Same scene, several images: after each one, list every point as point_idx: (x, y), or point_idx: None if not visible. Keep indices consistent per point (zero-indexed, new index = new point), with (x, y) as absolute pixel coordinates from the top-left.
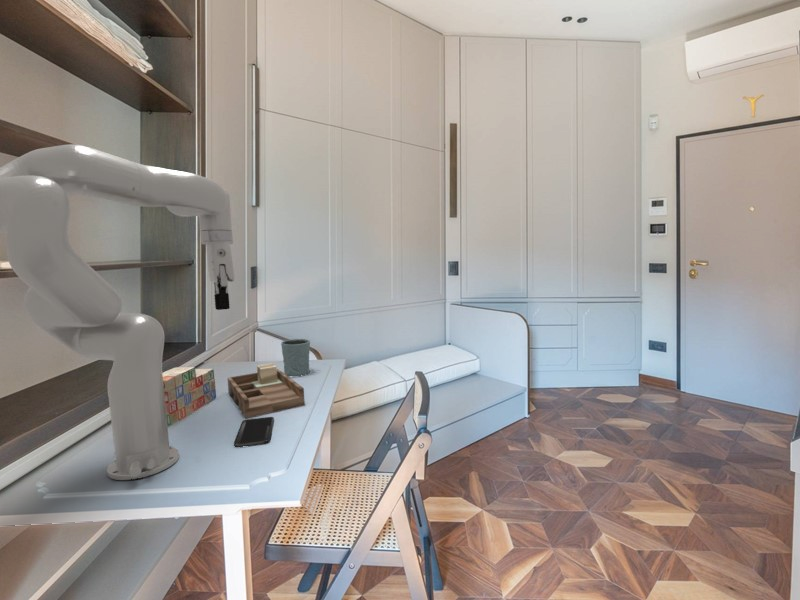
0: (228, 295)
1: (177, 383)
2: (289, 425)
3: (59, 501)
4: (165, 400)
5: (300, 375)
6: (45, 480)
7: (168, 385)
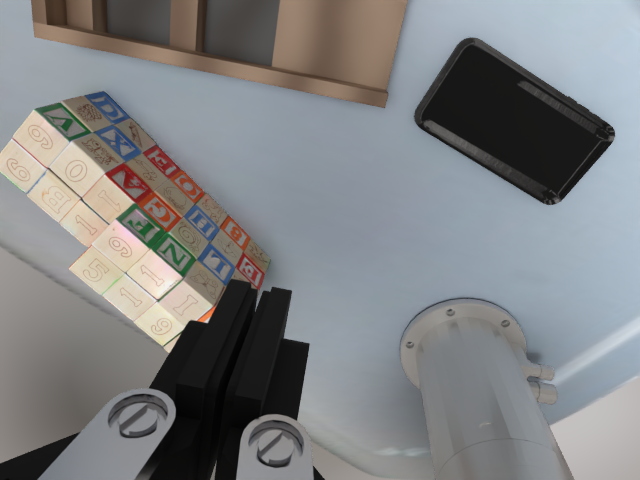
0: (265, 382)
1: (213, 283)
2: (560, 20)
3: None
4: None
5: None
6: (379, 447)
7: None
